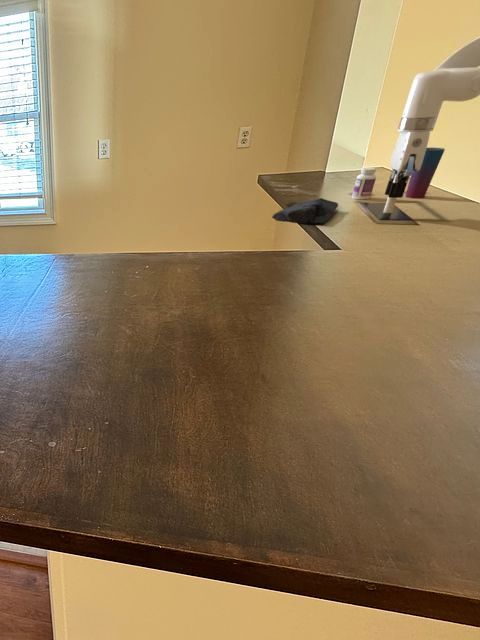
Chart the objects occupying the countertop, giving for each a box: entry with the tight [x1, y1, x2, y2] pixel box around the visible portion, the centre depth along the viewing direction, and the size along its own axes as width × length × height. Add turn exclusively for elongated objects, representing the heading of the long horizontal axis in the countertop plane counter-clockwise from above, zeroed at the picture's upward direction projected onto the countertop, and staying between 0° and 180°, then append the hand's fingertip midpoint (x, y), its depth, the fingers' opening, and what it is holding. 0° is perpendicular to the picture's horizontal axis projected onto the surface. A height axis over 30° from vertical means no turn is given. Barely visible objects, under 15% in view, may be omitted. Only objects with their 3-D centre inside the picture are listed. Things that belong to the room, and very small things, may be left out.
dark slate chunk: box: [271, 197, 339, 225], centre depth 149 cm, size 15×22×5 cm
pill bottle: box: [351, 167, 377, 200], centre depth 163 cm, size 5×5×10 cm
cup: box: [405, 146, 446, 199], centre depth 158 cm, size 7×7×15 cm
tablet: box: [357, 201, 420, 226], centre depth 145 cm, size 16×24×1 cm, turn 158°
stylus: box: [382, 174, 401, 218], centre depth 136 cm, size 2×2×12 cm
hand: (393, 195), depth 136 cm, fingers open, 3 cm apart
